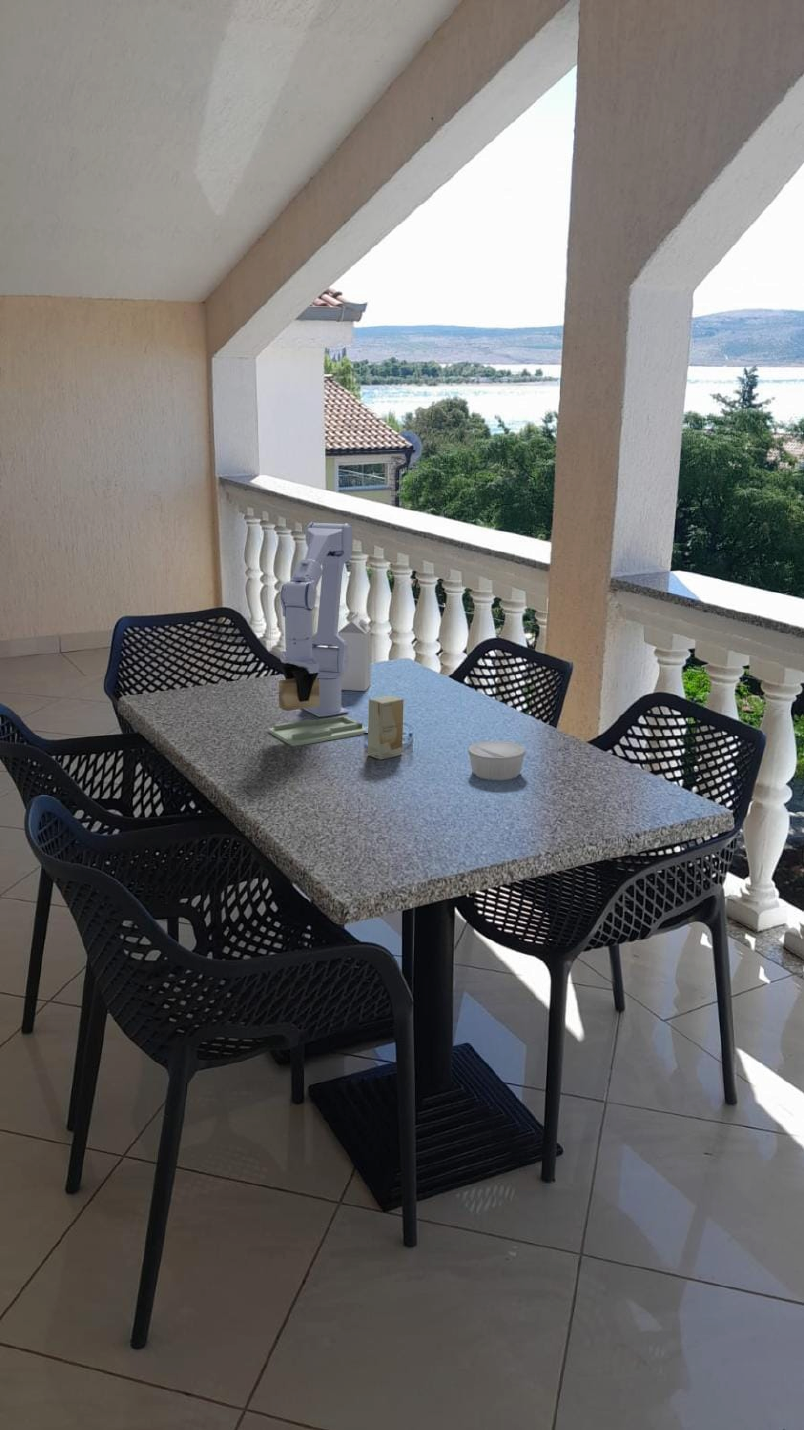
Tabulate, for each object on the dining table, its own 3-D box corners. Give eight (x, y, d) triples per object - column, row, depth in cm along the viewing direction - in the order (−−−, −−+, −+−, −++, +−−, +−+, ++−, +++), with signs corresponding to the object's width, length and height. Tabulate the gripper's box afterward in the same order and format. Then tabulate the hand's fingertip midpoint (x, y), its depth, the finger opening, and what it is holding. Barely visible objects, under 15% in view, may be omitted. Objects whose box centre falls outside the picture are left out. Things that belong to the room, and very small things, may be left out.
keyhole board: (268, 732, 247) (267, 724, 246) (342, 719, 256) (342, 712, 256) (292, 746, 237) (292, 738, 236) (369, 733, 247) (369, 725, 246)
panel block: (279, 707, 242) (278, 680, 240) (311, 702, 246) (311, 676, 244) (286, 711, 239) (286, 684, 237) (319, 706, 243) (319, 679, 241)
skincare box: (380, 760, 228) (380, 703, 225) (366, 755, 231) (367, 699, 228) (403, 754, 232) (404, 698, 229) (390, 749, 236) (390, 694, 232)
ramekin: (460, 778, 218) (461, 753, 217) (476, 762, 229) (477, 737, 227) (516, 786, 215) (517, 760, 213) (530, 768, 225) (531, 744, 223)
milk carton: (338, 690, 282) (337, 616, 276) (344, 683, 289) (343, 611, 283) (365, 691, 281) (365, 617, 275) (370, 684, 287) (371, 612, 282)
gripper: (267, 633, 242) (268, 693, 246) (297, 646, 230) (298, 709, 234) (296, 630, 246) (297, 689, 249) (327, 642, 234) (327, 704, 238)
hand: (299, 698), depth 242 cm, fingers closed on panel block, 4 cm apart
